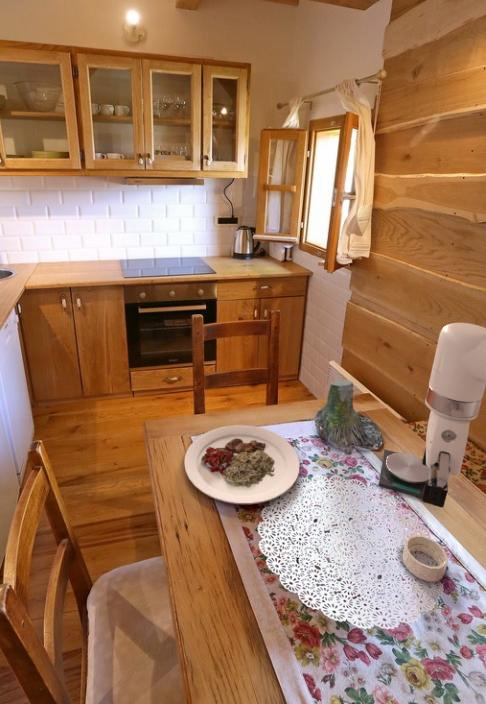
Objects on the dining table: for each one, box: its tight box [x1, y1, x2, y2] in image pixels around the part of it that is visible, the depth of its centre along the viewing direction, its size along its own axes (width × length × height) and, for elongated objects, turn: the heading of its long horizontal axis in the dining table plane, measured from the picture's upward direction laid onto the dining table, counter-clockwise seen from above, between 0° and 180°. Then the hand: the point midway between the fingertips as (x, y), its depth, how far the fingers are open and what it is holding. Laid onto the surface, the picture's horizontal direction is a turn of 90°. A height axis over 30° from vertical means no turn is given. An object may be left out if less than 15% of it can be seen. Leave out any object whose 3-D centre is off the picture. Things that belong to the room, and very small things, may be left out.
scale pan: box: [386, 452, 430, 484], centre depth 101 cm, size 10×10×2 cm
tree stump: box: [313, 379, 384, 454], centre depth 119 cm, size 18×20×18 cm
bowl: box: [402, 534, 449, 583], centre depth 79 cm, size 7×7×4 cm
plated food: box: [183, 424, 300, 505], centre depth 107 cm, size 30×30×3 cm
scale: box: [378, 448, 435, 500], centre depth 102 cm, size 12×14×2 cm
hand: (431, 483), depth 71 cm, fingers open, 9 cm apart
